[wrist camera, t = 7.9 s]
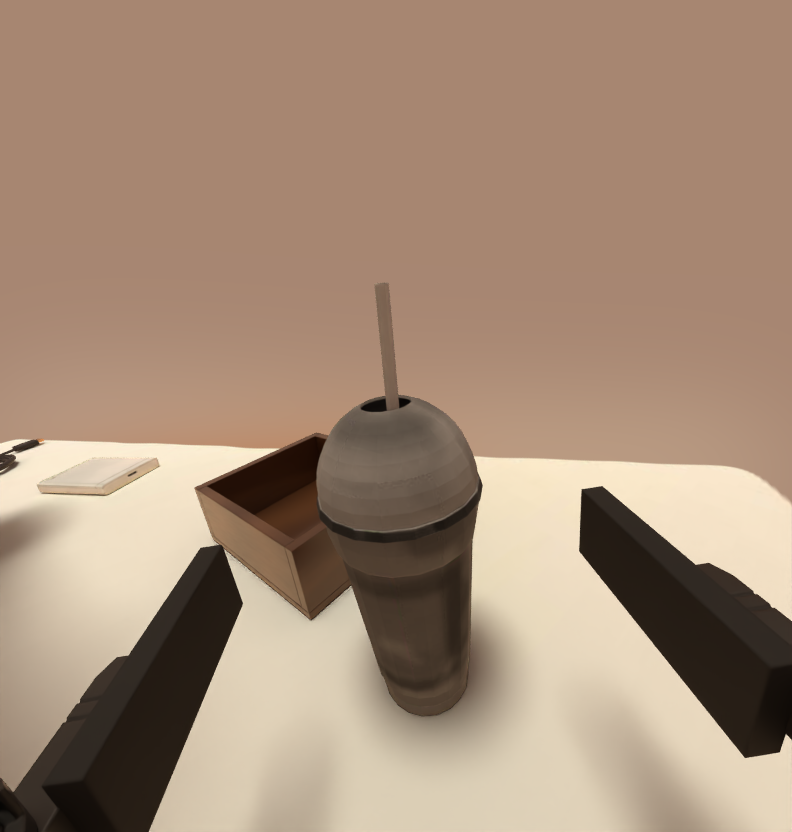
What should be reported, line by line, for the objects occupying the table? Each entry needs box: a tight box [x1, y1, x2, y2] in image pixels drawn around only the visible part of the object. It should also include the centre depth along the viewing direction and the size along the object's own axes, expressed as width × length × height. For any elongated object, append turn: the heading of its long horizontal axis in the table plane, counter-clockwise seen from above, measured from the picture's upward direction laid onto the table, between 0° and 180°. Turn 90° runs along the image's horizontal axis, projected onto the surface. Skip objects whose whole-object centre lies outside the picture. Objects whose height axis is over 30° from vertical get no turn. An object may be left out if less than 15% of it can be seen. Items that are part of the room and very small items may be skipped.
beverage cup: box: [316, 283, 483, 716], centre depth 17 cm, size 7×7×20 cm
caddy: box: [195, 433, 351, 619], centre depth 33 cm, size 16×14×6 cm
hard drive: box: [37, 458, 159, 495], centre depth 52 cm, size 2×8×12 cm
